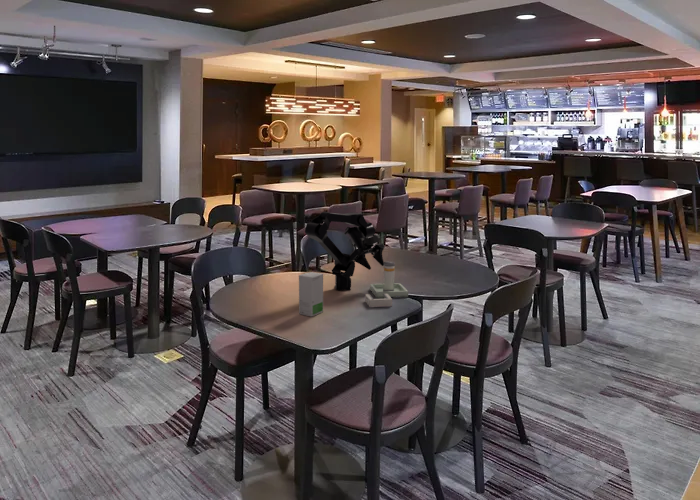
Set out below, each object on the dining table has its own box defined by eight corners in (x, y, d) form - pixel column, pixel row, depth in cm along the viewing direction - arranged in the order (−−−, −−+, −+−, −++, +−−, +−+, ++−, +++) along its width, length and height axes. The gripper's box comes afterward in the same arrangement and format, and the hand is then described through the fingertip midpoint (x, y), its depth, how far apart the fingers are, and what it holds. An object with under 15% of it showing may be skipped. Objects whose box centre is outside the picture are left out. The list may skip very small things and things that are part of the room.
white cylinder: (388, 293, 252) (389, 264, 250) (380, 291, 256) (381, 262, 253) (396, 291, 256) (397, 262, 253) (388, 289, 259) (389, 260, 257)
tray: (376, 298, 248) (376, 292, 247) (369, 289, 261) (369, 284, 261) (408, 296, 250) (408, 291, 250) (399, 288, 264) (400, 283, 263)
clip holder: (369, 307, 235) (369, 300, 234) (365, 301, 243) (365, 294, 243) (392, 306, 237) (392, 299, 236) (387, 300, 245) (387, 293, 244)
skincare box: (311, 317, 221) (311, 277, 218) (297, 314, 225) (297, 275, 222) (324, 311, 228) (324, 273, 225) (310, 308, 232) (310, 271, 228)
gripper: (355, 231, 251) (373, 260, 246) (382, 226, 264) (400, 253, 260) (341, 246, 258) (359, 275, 253) (368, 240, 271) (386, 267, 267)
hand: (376, 267), depth 258 cm, fingers open, 9 cm apart
